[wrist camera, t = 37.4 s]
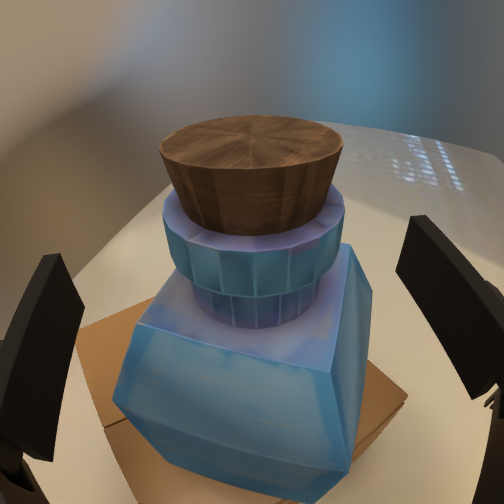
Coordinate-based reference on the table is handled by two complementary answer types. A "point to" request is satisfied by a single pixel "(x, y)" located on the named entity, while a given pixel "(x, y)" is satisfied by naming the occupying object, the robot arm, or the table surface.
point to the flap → (107, 358)
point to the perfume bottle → (253, 312)
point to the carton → (224, 495)
